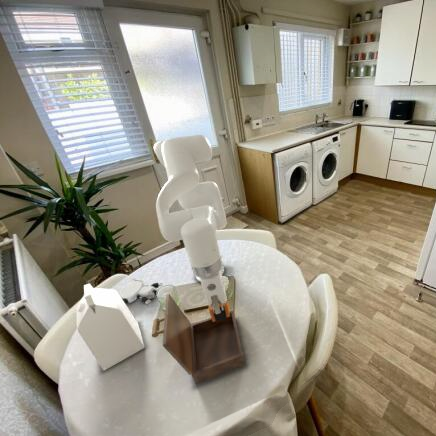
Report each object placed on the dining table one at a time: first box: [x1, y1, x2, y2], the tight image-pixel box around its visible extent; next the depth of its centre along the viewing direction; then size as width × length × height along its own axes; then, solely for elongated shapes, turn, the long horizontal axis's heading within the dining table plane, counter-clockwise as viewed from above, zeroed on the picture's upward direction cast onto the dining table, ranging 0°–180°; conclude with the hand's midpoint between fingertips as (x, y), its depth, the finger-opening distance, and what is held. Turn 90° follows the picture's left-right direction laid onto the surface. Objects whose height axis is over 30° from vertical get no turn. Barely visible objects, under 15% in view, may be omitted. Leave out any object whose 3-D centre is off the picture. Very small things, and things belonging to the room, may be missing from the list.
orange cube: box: [208, 301, 230, 322], centre depth 71 cm, size 5×5×5 cm
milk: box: [75, 283, 145, 371], centre depth 75 cm, size 12×12×26 cm
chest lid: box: [151, 293, 192, 376], centre depth 69 cm, size 15×18×5 cm
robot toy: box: [118, 278, 163, 305], centre depth 99 cm, size 12×4×15 cm
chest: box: [191, 310, 246, 385], centre depth 78 cm, size 15×18×5 cm
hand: (219, 310), depth 71 cm, fingers closed on orange cube, 5 cm apart
